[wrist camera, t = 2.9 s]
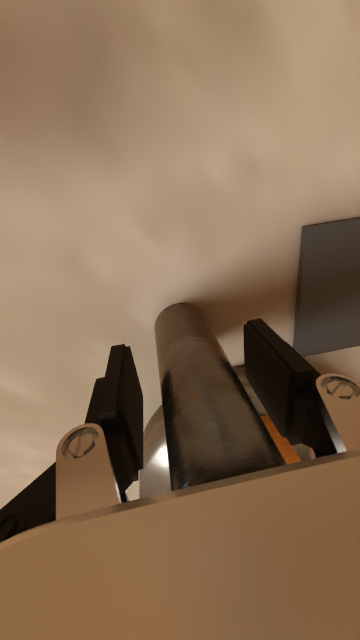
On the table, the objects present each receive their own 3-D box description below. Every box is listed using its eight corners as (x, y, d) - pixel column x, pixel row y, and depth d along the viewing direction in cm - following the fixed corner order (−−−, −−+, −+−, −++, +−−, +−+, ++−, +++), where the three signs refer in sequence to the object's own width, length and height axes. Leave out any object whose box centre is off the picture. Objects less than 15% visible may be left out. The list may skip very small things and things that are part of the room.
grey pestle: (150, 308, 14) (166, 511, 5) (203, 299, 14) (318, 474, 5) (159, 354, 15) (186, 580, 6) (208, 344, 15) (305, 550, 6)
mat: (302, 226, 13) (306, 227, 12) (426, 206, 13) (434, 206, 13) (292, 355, 16) (296, 358, 16) (391, 335, 17) (396, 338, 16)
